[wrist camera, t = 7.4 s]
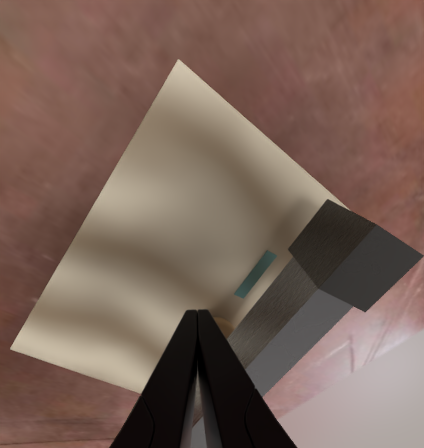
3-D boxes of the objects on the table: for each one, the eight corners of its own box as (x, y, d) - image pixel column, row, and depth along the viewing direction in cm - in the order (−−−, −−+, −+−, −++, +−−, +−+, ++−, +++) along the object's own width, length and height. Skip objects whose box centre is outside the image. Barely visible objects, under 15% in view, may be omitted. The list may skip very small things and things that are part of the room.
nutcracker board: (191, 393, 22) (191, 453, 18) (24, 331, 18) (-28, 394, 13) (364, 227, 16) (423, 261, 12) (180, 67, 12) (173, 33, 7)
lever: (189, 394, 20) (188, 493, 14) (146, 382, 19) (128, 485, 13) (341, 210, 14) (435, 263, 8) (291, 178, 13) (362, 215, 7)
